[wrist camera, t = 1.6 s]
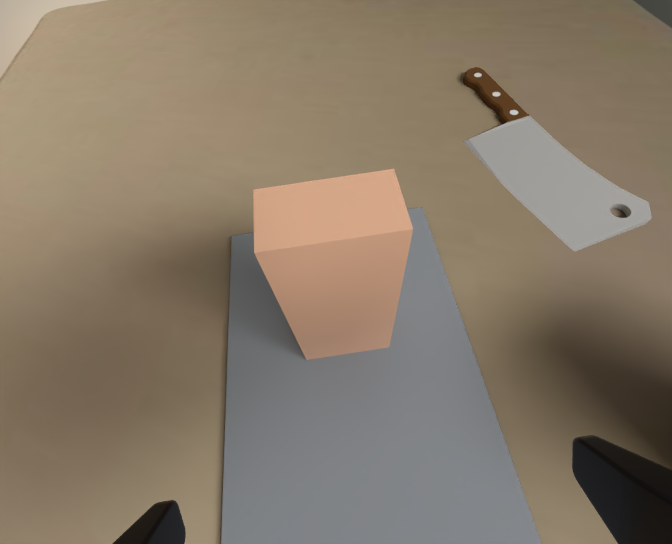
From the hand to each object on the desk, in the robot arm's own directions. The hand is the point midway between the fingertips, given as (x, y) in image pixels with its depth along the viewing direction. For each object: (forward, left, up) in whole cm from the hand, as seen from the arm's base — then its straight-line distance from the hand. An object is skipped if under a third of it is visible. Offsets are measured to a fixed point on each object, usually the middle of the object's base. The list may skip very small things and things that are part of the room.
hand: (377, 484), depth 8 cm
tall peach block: (+7, +5, -13) cm, 15 cm away
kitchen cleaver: (+31, -2, -14) cm, 34 cm away
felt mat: (+5, +4, -13) cm, 15 cm away
